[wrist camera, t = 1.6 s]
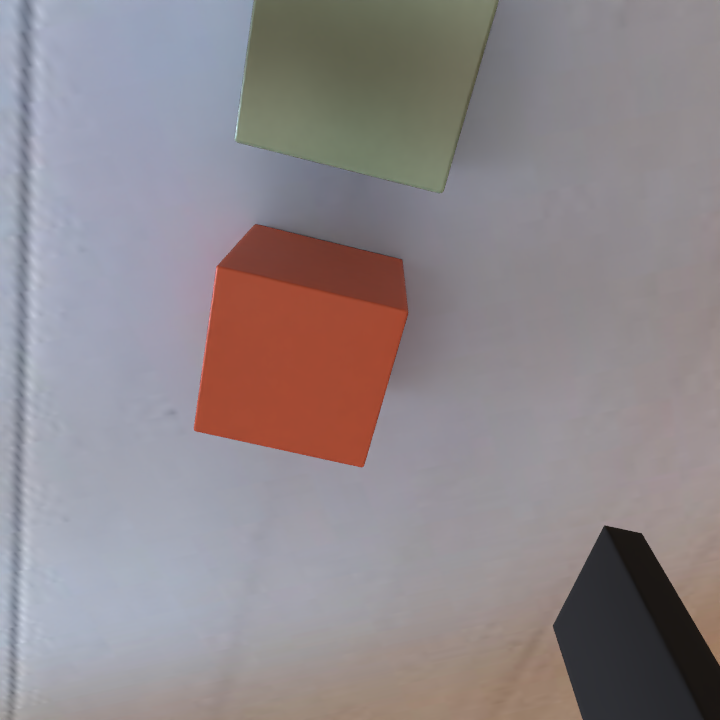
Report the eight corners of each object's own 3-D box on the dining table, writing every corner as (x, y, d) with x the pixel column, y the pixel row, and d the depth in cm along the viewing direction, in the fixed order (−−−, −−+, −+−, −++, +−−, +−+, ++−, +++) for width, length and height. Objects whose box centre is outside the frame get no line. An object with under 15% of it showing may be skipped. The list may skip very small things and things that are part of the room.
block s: (254, 223, 20) (216, 265, 15) (403, 259, 20) (408, 311, 15) (232, 358, 22) (192, 431, 17) (367, 389, 22) (363, 468, 17)
